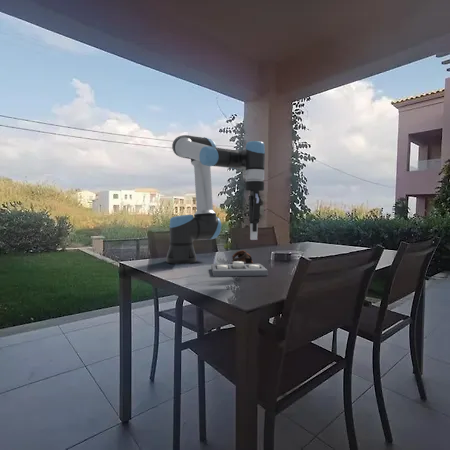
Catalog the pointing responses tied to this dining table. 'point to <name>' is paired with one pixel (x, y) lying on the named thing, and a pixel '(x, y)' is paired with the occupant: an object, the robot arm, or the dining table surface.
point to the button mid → (238, 265)
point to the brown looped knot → (242, 257)
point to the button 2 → (254, 266)
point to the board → (239, 270)
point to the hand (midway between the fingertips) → (253, 239)
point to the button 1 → (222, 267)
